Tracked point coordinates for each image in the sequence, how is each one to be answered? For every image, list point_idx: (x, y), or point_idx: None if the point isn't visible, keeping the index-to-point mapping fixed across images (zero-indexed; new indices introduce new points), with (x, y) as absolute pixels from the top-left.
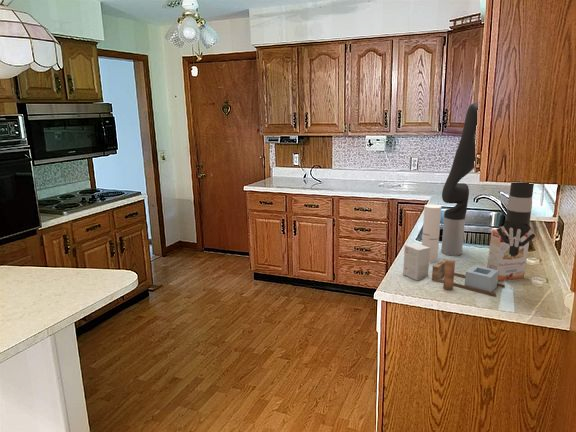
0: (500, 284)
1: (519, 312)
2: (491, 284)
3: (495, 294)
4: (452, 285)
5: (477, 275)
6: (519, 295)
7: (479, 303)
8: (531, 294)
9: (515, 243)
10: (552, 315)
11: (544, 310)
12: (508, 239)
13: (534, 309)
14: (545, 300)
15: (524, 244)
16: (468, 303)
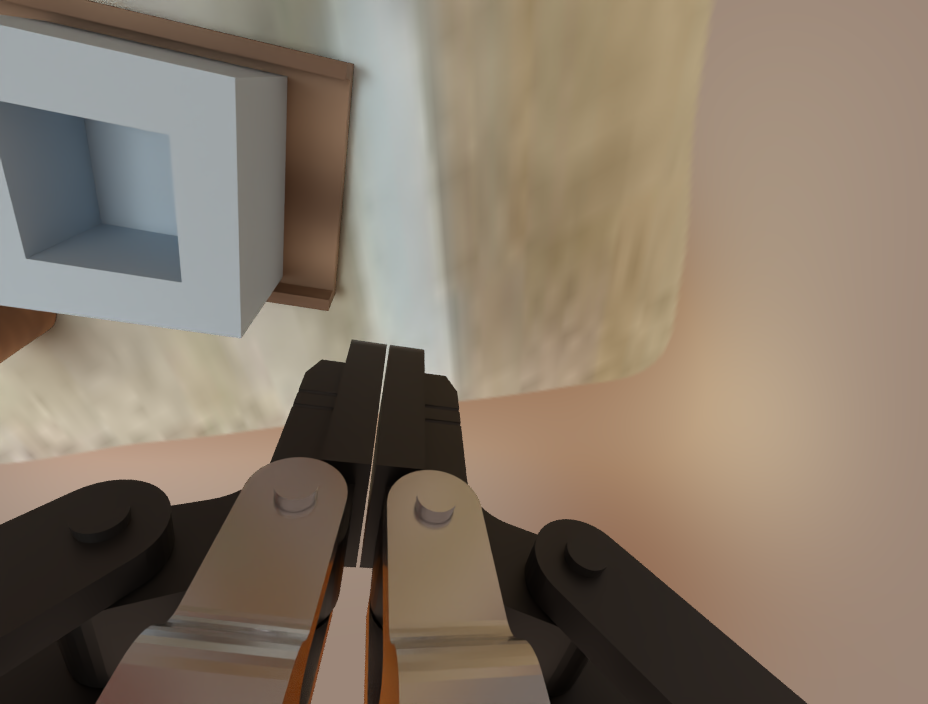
0: (310, 70)
1: (482, 389)
2: (265, 267)
3: (328, 310)
4: (18, 340)
5: (114, 313)
6: (474, 125)
7: (272, 384)
8: (561, 49)
9: (377, 662)
10: (640, 346)
11: (610, 304)
12: (114, 635)
13: (558, 317)
14: (645, 132)
15: (578, 685)
16: (222, 411)
